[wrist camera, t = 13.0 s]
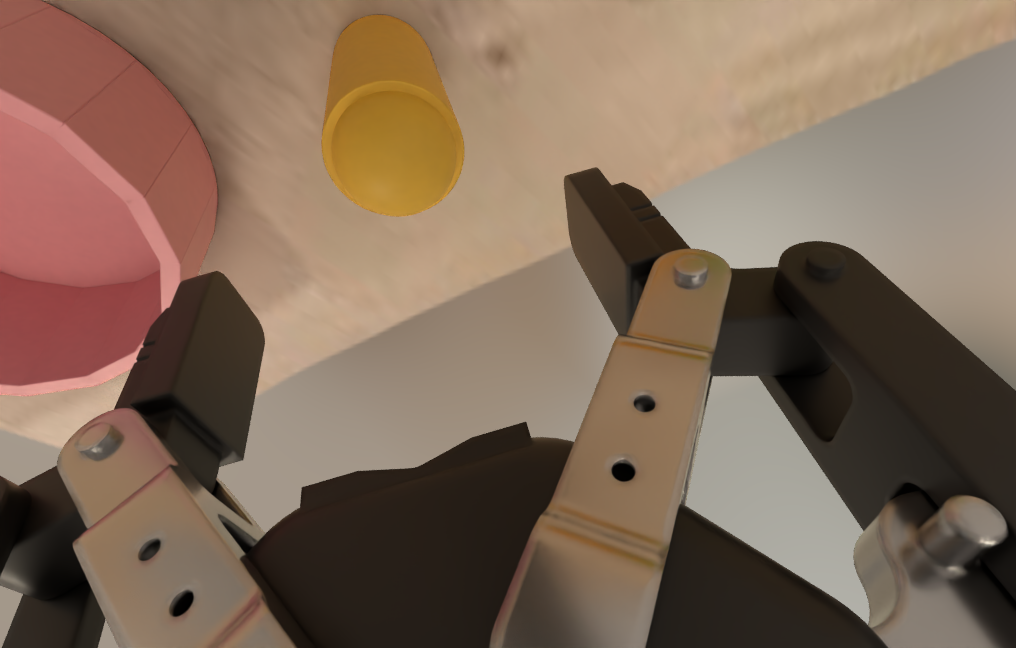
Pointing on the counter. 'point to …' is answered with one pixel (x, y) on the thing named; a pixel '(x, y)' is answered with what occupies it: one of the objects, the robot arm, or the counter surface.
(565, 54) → the counter surface
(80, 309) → the pot
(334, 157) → the yellow rounded cylinder
